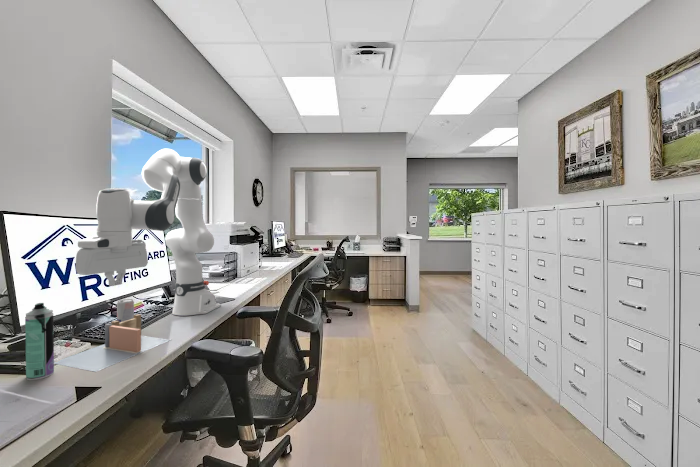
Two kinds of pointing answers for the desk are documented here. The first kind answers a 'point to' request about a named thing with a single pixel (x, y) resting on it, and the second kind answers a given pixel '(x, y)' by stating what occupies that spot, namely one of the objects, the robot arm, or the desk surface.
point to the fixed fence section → (129, 322)
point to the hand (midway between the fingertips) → (115, 285)
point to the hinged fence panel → (122, 338)
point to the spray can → (39, 342)
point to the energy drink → (125, 310)
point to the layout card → (107, 355)
